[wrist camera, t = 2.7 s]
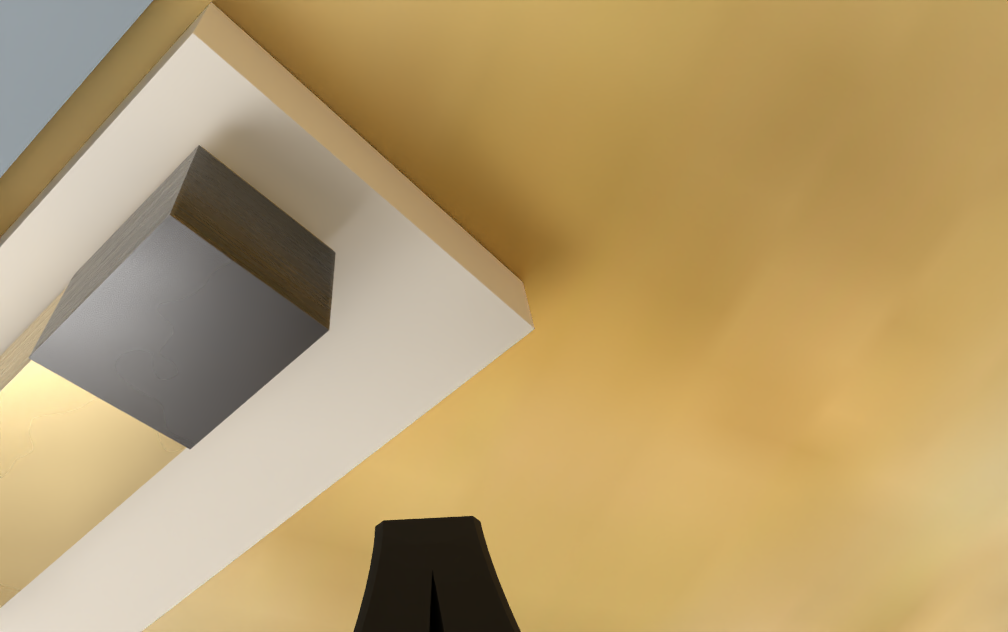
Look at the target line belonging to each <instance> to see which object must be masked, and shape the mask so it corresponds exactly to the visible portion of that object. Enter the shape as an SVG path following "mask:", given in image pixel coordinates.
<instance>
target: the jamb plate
mask: <svg viewBox="0 0 1008 632" xmlns="http://www.w3.org/2000/svg"><path fill="white" fill-rule="evenodd" d="M198 145H200V146H201V147H203V148H205V149H206V150H207V151H208V152H210V153H211V154H212V155H214V156H215V157H216V158H217V159H219V160H220V161H221V162H222V163H224V164H225V165H226V166H227V167H229V168H230V169H231V170H233V171H234V172H235V173H236V174H238V175H239V176H240V177H241V178H243V179H244V180H245V181H246V182H248V183H249V184H250V185H252V186H253V187H254V188H255V189H257V190H258V191H259V192H260V193H262V194H263V195H264V196H265V197H267V198H268V199H269V200H271V201H272V202H273V203H274V204H276V205H277V206H278V207H279V208H281V209H282V210H283V211H285V212H286V213H287V214H288V215H290V216H291V217H292V218H293V219H295V220H296V221H297V222H298V223H300V224H301V225H302V226H304V227H305V228H306V229H307V230H309V231H310V232H311V233H312V234H314V235H315V236H316V237H317V238H319V239H320V240H321V241H323V242H324V243H325V244H326V245H328V246H329V247H330V248H331V249H333V251H334V252H336V254H335V267H334V279H333V291H332V303H331V315H330V327H329V331H328V332H327V333H325V334H324V335H323V336H322V337H321V338H320V339H318V340H317V341H316V342H315V343H314V344H313V345H311V346H310V347H309V348H308V349H307V350H306V351H304V352H303V353H302V354H301V355H300V356H299V357H297V358H296V359H295V360H294V361H293V362H292V363H290V364H289V365H288V366H287V367H286V368H285V369H283V370H282V371H281V372H280V373H279V374H278V375H276V376H275V377H274V378H273V379H272V380H271V381H269V382H268V383H267V384H266V385H265V386H264V387H262V388H261V389H260V390H259V391H258V392H257V393H255V394H254V395H253V396H252V397H251V398H250V399H248V400H247V401H246V402H245V403H244V404H243V405H241V406H240V407H239V408H238V409H237V410H236V411H235V412H233V413H232V414H231V415H230V416H229V417H228V418H226V419H225V420H224V421H223V422H222V423H221V424H219V425H218V426H217V427H216V428H215V429H214V430H212V431H211V432H210V433H209V434H208V435H207V436H205V437H204V438H203V439H202V440H201V441H200V442H198V443H197V444H196V445H195V446H194V447H193V448H191V449H188V448H186V449H185V450H183V451H182V452H181V453H180V454H179V455H178V456H176V457H175V458H174V459H173V460H172V461H171V462H169V463H168V464H167V465H166V466H165V467H164V468H163V469H161V470H160V471H159V472H158V473H157V474H156V475H154V476H153V477H152V478H151V479H150V480H149V481H147V482H146V483H145V484H144V485H143V486H142V487H140V488H139V489H138V490H137V491H136V492H135V493H133V494H132V495H131V496H130V497H129V498H128V499H127V500H125V501H124V502H123V503H122V504H121V505H120V506H118V507H117V508H116V509H115V510H114V511H113V512H111V513H110V514H109V515H108V516H107V517H106V518H104V519H103V520H102V521H101V522H100V523H99V524H98V525H96V526H95V527H94V528H93V529H92V530H91V531H89V532H88V533H87V534H86V535H85V536H84V537H82V538H81V539H80V540H79V541H78V542H77V543H75V544H74V545H73V546H72V547H71V548H70V549H68V550H67V551H66V552H65V553H64V554H63V555H62V556H60V557H59V558H58V559H57V560H56V561H55V562H53V563H52V564H51V565H50V566H49V567H48V568H46V569H45V570H44V571H43V572H42V573H41V574H39V575H38V576H37V577H36V578H35V579H34V580H33V581H31V582H30V583H29V584H28V585H27V586H26V587H24V588H23V589H22V590H21V591H20V592H19V593H17V594H16V595H15V596H14V597H13V598H12V599H10V600H9V601H8V602H7V603H6V604H5V605H4V606H2V607H1V608H0V632H142V631H143V630H144V629H145V628H147V627H148V626H149V625H151V624H152V623H153V622H155V621H156V620H157V619H158V618H160V617H161V616H162V615H164V614H165V613H166V612H168V611H169V610H170V609H171V608H173V607H174V606H175V605H177V604H178V603H179V602H181V601H182V600H183V599H184V598H186V597H187V596H188V595H190V594H191V593H192V592H194V591H195V590H196V589H197V588H199V587H200V586H201V585H203V584H204V583H205V582H207V581H208V580H209V579H210V578H212V577H213V576H214V575H216V574H217V573H218V572H219V571H221V570H222V569H223V568H225V567H226V566H227V565H229V564H230V563H231V562H232V561H234V560H235V559H236V558H238V557H239V556H240V555H242V554H243V553H244V552H245V551H247V550H248V549H249V548H251V547H252V546H253V545H255V544H256V543H257V542H258V541H260V540H261V539H262V538H264V537H265V536H266V535H268V534H269V533H270V532H271V531H273V530H274V529H275V528H277V527H278V526H279V525H281V524H282V523H283V522H284V521H286V520H287V519H288V518H290V517H291V516H292V515H294V514H295V513H296V512H297V511H299V510H300V509H301V508H303V507H304V506H305V505H307V504H308V503H309V502H310V501H312V500H313V499H314V498H316V497H317V496H318V495H319V494H321V493H322V492H323V491H325V490H326V489H327V488H329V487H330V486H331V485H332V484H334V483H335V482H336V481H338V480H339V479H340V478H342V477H343V476H344V475H345V474H347V473H348V472H349V471H351V470H352V469H353V468H355V467H356V466H357V465H358V464H360V463H361V462H362V461H364V460H365V459H366V458H368V457H369V456H370V455H371V454H373V453H374V452H375V451H377V450H378V449H379V448H381V447H382V446H383V445H384V444H386V443H387V442H388V441H390V440H391V439H392V438H394V437H395V436H396V435H397V434H399V433H400V432H401V431H403V430H404V429H405V428H407V427H408V426H409V425H410V424H412V423H413V422H414V421H416V420H417V419H418V418H419V417H421V416H422V415H423V414H425V413H426V412H427V411H429V410H430V409H431V408H432V407H434V406H435V405H436V404H438V403H439V402H440V401H442V400H443V399H444V398H445V397H447V396H448V395H449V394H451V393H452V392H453V391H455V390H456V389H457V388H458V387H460V386H461V385H462V384H464V383H465V382H466V381H468V380H469V379H470V378H471V377H473V376H474V375H475V374H477V373H478V372H479V371H481V370H482V369H483V368H484V367H486V366H487V365H488V364H490V363H491V362H492V361H494V360H495V359H496V358H497V357H499V356H500V355H501V354H503V353H504V352H505V351H507V350H508V349H509V348H510V347H512V346H513V345H514V344H516V343H517V342H518V341H519V340H521V339H522V338H523V337H525V336H526V335H527V334H529V333H530V332H531V331H532V330H534V329H535V328H534V324H533V320H532V316H531V312H530V308H529V304H528V300H527V296H526V292H525V288H524V284H523V282H522V281H521V280H520V279H519V278H518V277H516V276H515V275H514V274H513V273H512V272H511V271H510V270H509V269H508V268H506V267H505V266H504V265H503V264H502V263H501V262H500V261H499V260H498V259H496V258H495V257H494V256H493V255H492V254H491V253H490V252H489V251H488V250H486V249H485V248H484V247H483V246H482V245H481V244H480V243H479V242H478V241H476V240H475V239H474V238H473V237H472V236H471V235H470V234H469V233H468V232H466V231H465V230H464V229H463V228H462V227H461V226H460V225H459V224H458V223H456V222H455V221H454V220H453V219H452V218H451V217H450V216H449V215H448V214H446V213H445V212H444V211H443V210H442V209H441V208H440V207H439V206H438V205H436V204H435V203H434V202H433V201H432V200H431V199H430V198H429V197H428V196H426V195H425V194H424V193H423V192H422V191H421V190H420V189H419V188H418V187H416V186H415V185H414V184H413V183H412V182H411V181H410V180H409V179H408V178H406V177H405V176H404V175H403V174H402V173H401V172H400V171H399V170H398V169H396V168H395V167H394V166H393V165H392V164H391V163H390V162H389V161H388V160H386V159H385V158H384V157H383V156H382V155H381V154H380V153H379V152H378V151H376V150H375V149H374V148H373V147H372V146H371V145H370V144H369V143H368V142H366V141H365V140H364V139H363V138H362V137H361V136H360V135H359V134H358V133H356V132H355V131H354V130H353V129H352V128H351V127H350V126H349V125H348V124H346V123H345V122H344V121H343V120H342V119H341V118H340V117H339V116H338V115H336V114H335V113H334V112H333V111H332V110H331V109H330V108H329V107H328V106H326V105H325V104H324V103H323V102H322V101H321V100H320V99H319V98H318V97H316V96H315V95H314V94H313V93H312V92H311V91H310V90H309V89H308V88H306V87H305V86H304V85H303V84H302V83H301V82H300V81H299V80H298V79H296V78H295V77H294V76H293V75H292V74H291V73H290V72H289V71H288V70H286V69H285V68H284V67H283V66H282V65H281V64H280V63H279V62H278V61H276V60H275V59H274V58H273V57H272V56H271V55H270V54H269V53H268V52H266V51H265V50H264V49H263V48H262V47H261V46H260V45H259V44H258V43H256V42H255V41H254V40H253V39H252V38H251V37H250V36H249V35H248V34H246V33H245V32H244V31H243V30H242V29H241V28H240V27H239V26H238V25H236V24H235V23H234V22H233V21H232V20H231V19H230V18H229V17H228V16H226V15H225V14H224V13H223V12H222V11H221V10H220V9H219V8H218V7H216V6H215V5H214V4H213V3H212V2H211V3H210V4H209V5H208V6H207V7H206V8H205V9H204V10H203V12H202V13H201V14H200V15H199V16H198V17H197V18H196V19H195V20H194V22H193V23H192V24H191V25H190V26H189V27H188V28H187V29H186V31H185V32H184V33H183V34H182V35H181V36H180V37H179V38H178V40H177V41H176V42H175V43H174V44H173V45H172V46H171V47H170V48H169V50H168V51H167V52H166V53H165V54H164V55H163V56H162V57H161V59H160V60H159V61H158V62H157V63H156V64H155V65H154V66H153V67H152V69H151V70H150V71H149V72H148V73H147V74H146V75H145V76H144V78H143V79H142V80H141V81H140V82H139V83H138V84H137V85H136V86H135V88H134V89H133V90H132V91H131V92H130V93H129V94H128V95H127V97H126V98H125V99H124V100H123V101H122V102H121V103H120V104H119V105H118V107H117V108H116V109H115V110H114V111H113V112H112V113H111V114H110V116H109V117H108V118H107V119H106V120H105V121H104V122H103V123H102V125H101V126H100V127H99V128H98V129H97V130H96V131H95V132H94V133H93V135H92V136H91V137H90V138H89V139H88V140H87V141H86V142H85V144H84V145H83V146H82V147H81V148H80V149H79V150H78V151H77V152H76V154H75V155H74V156H73V157H72V158H71V159H70V160H69V161H68V163H67V164H66V165H65V166H64V167H63V168H62V169H61V170H60V171H59V173H58V174H57V175H56V176H55V177H54V178H53V179H52V180H51V182H50V183H49V184H48V185H47V186H46V187H45V188H44V189H43V191H42V192H41V193H40V194H39V195H38V196H37V197H36V198H35V199H34V201H33V202H32V203H31V204H30V205H29V206H28V207H27V208H26V210H25V211H24V212H23V213H22V214H21V215H20V216H19V217H18V218H17V220H16V221H15V222H14V223H13V224H12V225H11V226H10V227H9V229H8V230H7V231H6V232H5V233H4V234H3V235H2V236H1V237H0V356H1V355H2V354H3V353H4V352H5V351H6V350H7V348H8V347H9V346H10V345H11V344H12V343H13V342H14V341H15V340H16V339H17V338H18V337H19V336H20V335H21V334H22V333H23V332H24V331H25V330H26V329H27V328H28V327H29V326H30V325H31V324H32V323H33V322H34V320H35V319H36V318H37V317H38V316H39V315H40V314H41V313H42V312H43V311H44V310H45V309H46V308H47V307H48V306H49V305H50V304H51V303H52V302H53V301H54V300H55V299H56V298H57V297H58V296H59V295H60V294H61V293H62V291H63V290H64V289H65V288H66V287H67V286H68V285H69V283H70V281H71V279H72V277H73V275H74V274H75V273H76V272H77V271H78V270H79V269H80V268H81V267H82V266H83V265H84V264H85V263H86V262H87V261H88V260H89V259H90V258H91V257H92V256H93V254H94V253H95V252H96V251H97V250H98V249H99V248H100V247H101V246H102V245H103V244H104V243H105V242H106V241H107V240H108V239H109V238H110V237H111V236H112V235H113V234H114V233H115V232H116V231H117V230H118V229H119V227H120V226H121V225H122V224H123V223H124V222H125V221H126V220H127V219H128V218H129V217H130V216H131V215H132V214H133V213H134V212H135V211H136V210H137V209H138V208H139V207H140V206H141V205H142V204H143V203H144V201H145V200H146V199H147V198H148V197H149V196H150V195H151V194H152V193H153V192H154V191H155V190H156V189H157V188H158V187H159V186H160V185H161V184H162V183H163V182H164V181H165V180H166V179H167V178H168V177H169V175H170V174H171V173H172V172H173V171H174V170H175V169H176V168H177V167H178V166H179V165H180V164H181V163H182V162H183V161H184V160H185V159H186V158H187V157H188V156H189V155H190V154H191V153H192V152H193V151H194V149H195V148H196V147H197V146H198Z"/></svg>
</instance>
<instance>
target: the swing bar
mask: <svg viewBox="0 0 1008 632" xmlns="http://www.w3.org/2000/svg"><path fill="white" fill-rule="evenodd" d="M335 254H336V252H334V251H333V249H331V248H330V247H329V246H328V245H326V244H325V243H324V242H323V241H321V240H320V239H319V238H317V237H316V236H315V235H314V234H312V233H311V232H310V231H309V230H307V229H306V228H305V227H304V226H302V225H301V224H300V223H298V222H297V221H296V220H295V219H293V218H292V217H291V216H290V215H288V214H287V213H286V212H285V211H283V210H282V209H281V208H279V207H278V206H277V205H276V204H274V203H273V202H272V201H271V200H269V199H268V198H267V197H265V196H264V195H263V194H262V193H260V192H259V191H258V190H257V189H255V188H254V187H253V186H252V185H250V184H249V183H248V182H246V181H245V180H244V179H243V178H241V177H240V176H239V175H238V174H236V173H235V172H234V171H233V170H231V169H230V168H229V167H227V166H226V165H225V164H224V163H222V162H221V161H220V160H219V159H217V158H216V157H215V156H214V155H212V154H211V153H210V152H208V151H207V150H206V149H205V148H203V147H201V146H200V145H198V146H197V147H196V148H195V149H194V151H193V152H192V153H191V154H190V155H189V156H188V157H187V158H186V159H185V160H184V161H183V162H182V163H181V164H180V165H179V166H178V167H177V168H176V169H175V170H174V171H173V172H172V173H171V174H170V175H169V177H168V178H167V179H166V180H165V181H164V182H163V183H162V184H161V185H160V186H159V187H158V188H157V189H156V190H155V191H154V192H153V193H152V194H151V195H150V196H149V197H148V198H147V199H146V200H145V201H144V203H143V204H142V205H141V206H140V207H139V208H138V209H137V210H136V211H135V212H134V213H133V214H132V215H131V216H130V217H129V218H128V219H127V220H126V221H125V222H124V223H123V224H122V225H121V226H120V227H119V229H118V230H117V231H116V232H115V233H114V234H113V235H112V236H111V237H110V238H109V239H108V240H107V241H106V242H105V243H104V244H103V245H102V246H101V247H100V248H99V249H98V250H97V251H96V252H95V253H94V254H93V256H92V257H91V258H90V259H89V260H88V261H87V262H86V263H85V264H84V265H83V266H82V267H81V268H80V269H79V270H78V271H77V272H76V273H75V274H74V275H73V277H72V279H71V281H70V283H69V285H68V286H67V287H66V288H65V289H64V290H63V291H62V293H61V294H60V295H59V296H58V297H57V298H56V299H55V300H54V301H53V302H52V303H51V304H50V305H49V306H48V307H47V308H46V309H45V310H44V311H43V312H42V313H41V314H40V315H39V316H38V317H37V318H36V319H35V320H34V322H33V323H32V324H31V325H30V326H29V327H28V328H27V329H26V330H25V331H24V332H23V333H22V334H21V335H20V336H19V337H18V338H17V339H16V340H15V341H14V342H13V343H12V344H11V345H10V346H9V347H8V348H7V350H6V351H5V352H4V353H3V354H2V355H1V356H0V608H1V607H2V606H4V605H5V604H6V603H7V602H8V601H9V600H10V599H12V598H13V597H14V596H15V595H16V594H17V593H19V592H20V591H21V590H22V589H23V588H24V587H26V586H27V585H28V584H29V583H30V582H31V581H33V580H34V579H35V578H36V577H37V576H38V575H39V574H41V573H42V572H43V571H44V570H45V569H46V568H48V567H49V566H50V565H51V564H52V563H53V562H55V561H56V560H57V559H58V558H59V557H60V556H62V555H63V554H64V553H65V552H66V551H67V550H68V549H70V548H71V547H72V546H73V545H74V544H75V543H77V542H78V541H79V540H80V539H81V538H82V537H84V536H85V535H86V534H87V533H88V532H89V531H91V530H92V529H93V528H94V527H95V526H96V525H98V524H99V523H100V522H101V521H102V520H103V519H104V518H106V517H107V516H108V515H109V514H110V513H111V512H113V511H114V510H115V509H116V508H117V507H118V506H120V505H121V504H122V503H123V502H124V501H125V500H127V499H128V498H129V497H130V496H131V495H132V494H133V493H135V492H136V491H137V490H138V489H139V488H140V487H142V486H143V485H144V484H145V483H146V482H147V481H149V480H150V479H151V478H152V477H153V476H154V475H156V474H157V473H158V472H159V471H160V470H161V469H163V468H164V467H165V466H166V465H167V464H168V463H169V462H171V461H172V460H173V459H174V458H175V457H176V456H178V455H179V454H180V453H181V452H182V451H183V450H185V449H186V448H188V449H191V448H193V447H194V446H195V445H196V444H197V443H198V442H200V441H201V440H202V439H203V438H204V437H205V436H207V435H208V434H209V433H210V432H211V431H212V430H214V429H215V428H216V427H217V426H218V425H219V424H221V423H222V422H223V421H224V420H225V419H226V418H228V417H229V416H230V415H231V414H232V413H233V412H235V411H236V410H237V409H238V408H239V407H240V406H241V405H243V404H244V403H245V402H246V401H247V400H248V399H250V398H251V397H252V396H253V395H254V394H255V393H257V392H258V391H259V390H260V389H261V388H262V387H264V386H265V385H266V384H267V383H268V382H269V381H271V380H272V379H273V378H274V377H275V376H276V375H278V374H279V373H280V372H281V371H282V370H283V369H285V368H286V367H287V366H288V365H289V364H290V363H292V362H293V361H294V360H295V359H296V358H297V357H299V356H300V355H301V354H302V353H303V352H304V351H306V350H307V349H308V348H309V347H310V346H311V345H313V344H314V343H315V342H316V341H317V340H318V339H320V338H321V337H322V336H323V335H324V334H325V333H327V332H328V331H329V327H330V315H331V303H332V291H333V279H334V267H335Z"/></svg>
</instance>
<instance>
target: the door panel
mask: <svg viewBox="0 0 1008 632" xmlns="http://www.w3.org/2000/svg"><path fill="white" fill-rule="evenodd" d="M152 1H153V0H0V177H1V176H2V175H3V174H4V173H5V172H6V170H7V169H8V168H9V167H10V166H11V165H12V164H13V162H14V161H15V160H16V159H17V158H18V157H19V155H20V154H21V153H22V152H23V151H24V150H25V148H26V147H27V146H28V145H29V144H30V143H31V141H32V140H33V139H34V138H35V137H36V136H37V135H38V133H39V132H40V131H41V130H42V129H43V128H44V126H45V125H46V124H47V123H48V122H49V121H50V119H51V118H52V117H53V116H54V115H55V114H56V112H57V111H58V110H59V109H60V108H61V107H62V106H63V104H64V103H65V102H66V101H67V100H68V99H69V97H70V96H71V95H72V94H73V93H74V92H75V90H76V89H77V88H78V87H79V86H80V85H81V83H82V82H83V81H84V80H85V79H86V78H87V77H88V75H89V74H90V73H91V72H92V71H93V70H94V68H95V67H96V66H97V65H98V64H99V63H100V61H101V60H102V59H103V58H104V57H105V56H106V54H107V53H108V52H109V51H110V50H111V49H112V48H113V46H114V45H115V44H116V43H117V42H118V41H119V39H120V38H121V37H122V36H123V35H124V34H125V32H126V31H127V30H128V29H129V28H130V27H131V25H132V24H133V23H134V22H135V21H136V20H137V19H138V17H139V16H140V15H141V14H142V13H143V12H144V10H145V9H146V8H147V7H148V6H149V5H150V3H151V2H152Z"/></svg>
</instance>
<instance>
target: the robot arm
mask: <svg viewBox="0 0 1008 632" xmlns="http://www.w3.org/2000/svg"><path fill="white" fill-rule="evenodd" d="M354 632H521V631H520V629H519V627H518V625H517V623H516V620H515V618H514V616H513V613H512V611H511V609H510V607H509V604H508V602H507V599H506V597H505V594H504V592H503V589H502V587H501V584H500V582H499V579H498V577H497V574H496V571H495V569H494V566H493V563H492V560H491V557H490V554H489V551H488V548H487V545H486V541H485V538H484V535H483V531H482V527H481V522H480V521H479V520H478V519H476V518H475V517H473V516H464V517H444V518H424V519H405V520H385V521H382V522H381V523H380V524H378V525H377V526H376V527H375V538H374V548H373V554H372V560H371V565H370V571H369V575H368V580H367V584H366V588H365V592H364V596H363V600H362V604H361V608H360V612H359V615H358V619H357V622H356V625H355V628H354Z"/></svg>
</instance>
